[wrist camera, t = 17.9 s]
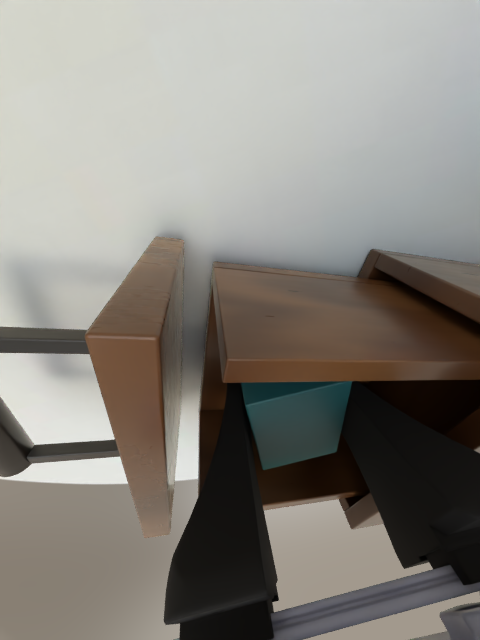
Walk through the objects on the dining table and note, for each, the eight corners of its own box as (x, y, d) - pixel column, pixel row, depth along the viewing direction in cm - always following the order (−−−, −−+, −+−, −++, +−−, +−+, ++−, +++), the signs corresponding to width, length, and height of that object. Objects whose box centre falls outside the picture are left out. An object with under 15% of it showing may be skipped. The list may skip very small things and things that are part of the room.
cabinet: (296, 399, 19) (351, 530, 12) (370, 248, 12) (618, 356, 5) (437, 395, 23) (543, 493, 16) (563, 276, 15) (864, 362, 8)
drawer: (59, 414, 14) (-32, 567, 9) (-46, 209, 8) (-733, 308, 2) (345, 403, 19) (404, 497, 13) (437, 272, 12) (630, 352, 7)
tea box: (230, 331, 11) (245, 406, 7) (304, 314, 11) (353, 380, 8) (247, 397, 15) (262, 471, 11) (303, 384, 15) (337, 452, 11)
